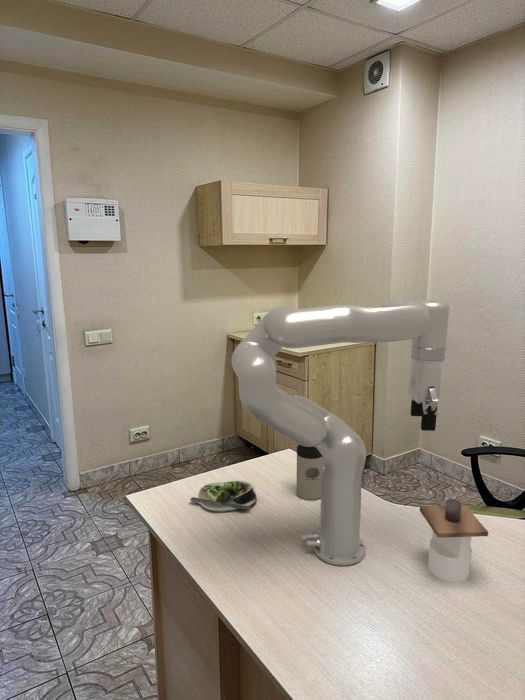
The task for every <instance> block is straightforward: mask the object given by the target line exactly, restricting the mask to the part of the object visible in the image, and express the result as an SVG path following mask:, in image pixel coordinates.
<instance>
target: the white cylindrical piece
mask: <svg viewBox="0 0 525 700" xmlns="http://www.w3.org/2000/svg"><path fill="white" fill-rule="evenodd" d="M471 543H472V537H443V538H438V537H437V536H436V534H435V533H434V531H433V530H432V538H431V539H430V541H429V546H428V547H429V548H428V562H427V569H428V571H429V573H431V574H432V575H433V576H434V577H435V578H438V579H440V580H441V581H444V582H447V583H453V584H454V583H462V582H463V583H464V582H465V581H466V580H468V579H469V578H470V573H471V572H470V571H471V562H472V547H471Z"/></svg>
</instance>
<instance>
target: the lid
mask: <svg viewBox="0 0 525 700" xmlns="http://www.w3.org/2000/svg"><path fill="white" fill-rule="evenodd" d="M445 503H446V504H445V505H444V506H443V505H440V506H439V505H437V506H430V505H429V506H419V512H420V513H421V515H422V516H423V518H424V520H425V521H426V522H427V524H428V525H429V527H430V529H431V530H432V532H433V531H434V533H435V534H436V536H437V537H438V538H443V537H471V538H473V537H488V536H489V531H488V529H486V527H484V525H483V524H482V523H481V522H480V520H479V519H478V518H477V517H476V516H475V514H474V513H473V512H472V511H471V510H470V508H469V507H468V506H467V505H462V504H463V503H462V502H461V501H460V500H458V499H454V498H449V499H446V502H445Z"/></svg>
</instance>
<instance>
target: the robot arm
mask: <svg viewBox="0 0 525 700" xmlns="http://www.w3.org/2000/svg"><path fill="white" fill-rule="evenodd" d="M449 313H450V307H449V304H448V303H447V302H446V301H443V300H435V299H422V300H418V301H417V300H407V299H400V298H393V299H389V300H387V301H384V302H383V303H382V304H381V305H380V306H379V307H368V306H359V305H353V304H339V303H338V304H333V305H325V306H323V305H321V306H315V307H313V306H312V307H305V308H304V307H303V308H295V309H294V308H291V307H289V306H285V305H280V306H275V307H274V308H272V309H271V310H269V311H268V312H267V313H266V314H265V315H264V316H263V317H262V318H261V319H260V320H259V322H258V323H257V324H256V325H255V326H254V327H253V328H252V329H251V330H250V332H249V333H248V334H246V336H244V338H243V339H242V340H241V341H240V342H239V343H238V345H236V347H235V349H234V351H233V352H232V354H231V355H232V356H231V367H232V369H233V371H234V374H236V376H237V378H238V394H239V395H238V396H239V401H240V402H241V405H242V407H243V408H244V409H245V411H246V412H247V413H248V414H249V415H250V416H251V417H253V418H255V419H256V420H257V421H260V422H261V423H262V424H264V425H265V426H267V427H269V428H271V430H273V431H276V432H277V433H279V434H281V435H282V436H284V437H285V438H287V439H289V440H290V441H292V442H293V443H294V444H297V445H301V446H304V447H316V448H317V449H318V450H319V452H320V453H321V455H322V456H323V457H324V469H323V473H322V479H321V497H320V516H319V517H320V522H319V523H320V524H319V527H317V530H316V531H313V533H308V532H303V533H300V540H301V542H306V545H307V546H306V547H312V548H313V552H314V554H315V555H316V556H317V557H318V558H319V559H320V560H322V561H323V562H325V563H328V564H330V565H335V566H343V567H344V566H352V565H354V564H355V565H356V564H358V563H359V562H361V561H362V560H363V559H364V557H365V556H366V546H365V543H364V542H363V541H362V540H361V539H360V534H361V533H360V529H361V528H360V527H361V511H362V510H361V507H362V506H361V505H362V484H363V482H362V474H363V469H364V470H365V465H366V459H367V448H366V445H365V443H364V441H363V439H362V437H361V436H360V435H359V434H358V433H357V432H356V431H355V430H354V429H352V427H350V426H349V425H348V424H347V423H346V422H345V421H344V420H342V419H341V418H340V417H339V416H336V415H335V414H334V413H332V412H330V411H329V410H327V409H326V408H324V407H322V406H321V405H319V404H317V403H316V402H314V401H313V400H311V399H309V398H307V397H305V396H303V395H297V394H296V395H290V393H288V392H286V391H285V390H283V389H281V388H279V387H278V385H277V368H276V363H275V361H274V358H275V356H276V355H277V354H278V353H279V352H280V351H281V350H282V348H285V349H303V348H309V347H310V348H311V347H317V346H326V345H332V344H333V345H335V344H342V343H350V344H359V343H361V344H362V343H391V342H392V343H394V342H400V341H407V340H409V341H410V340H411V349H410V350H411V351H410V359H411V360H412V362H411V369H410V375H409V382H408V393H409V396H410V397H411V404H410V416H411V417H421V420H420V430H421V431H427V432H428V431H430V432H435V431H436V427H437V416H438V403H439V401H440V393H441V382H442V381H441V378H442V377H441V376H442V370H441V368H442V367H441V366H442V363H445V359H446V349H447V338H448V337H447V335H448V326H449V325H448V324H449Z"/></svg>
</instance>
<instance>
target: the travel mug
mask: <svg viewBox="0 0 525 700" xmlns="http://www.w3.org/2000/svg"><path fill="white" fill-rule="evenodd" d="M324 465H325V461H324V457H323V456H322V455H321V453H320V452H319V450H318V449H317V448H316V447H304V446H301V445H299V444H297V447H296V484H295V486H296V488H295V489H296V490H295V491H296V492H295V493H296V496H298V497H299V498H301V499H304V500H308V501H314V500H317V499H321V479H322V473H323V470H324Z"/></svg>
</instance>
